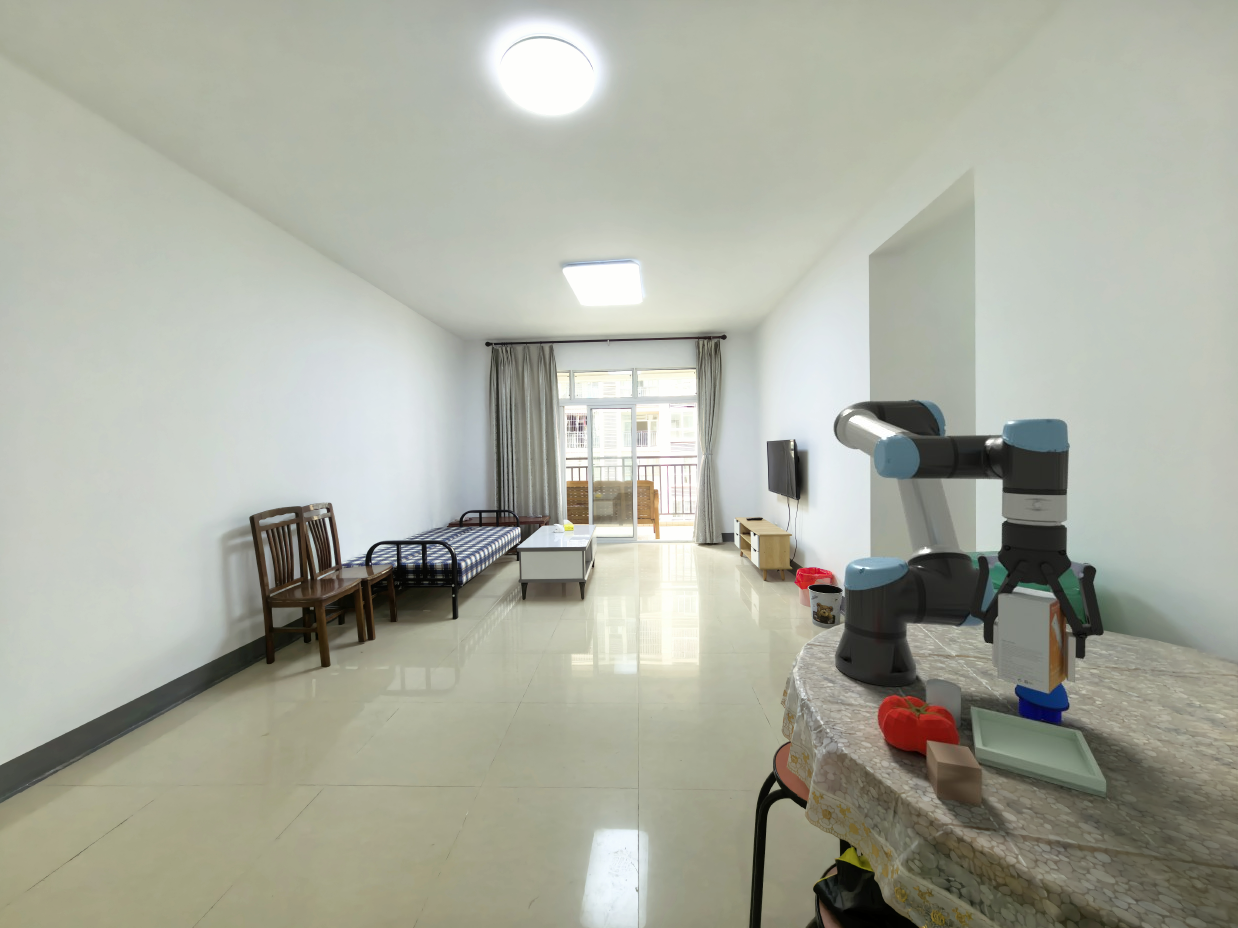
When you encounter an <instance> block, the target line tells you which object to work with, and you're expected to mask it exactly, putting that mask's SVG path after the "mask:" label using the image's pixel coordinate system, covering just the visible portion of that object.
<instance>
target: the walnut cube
mask: <svg viewBox="0 0 1238 928" xmlns="http://www.w3.org/2000/svg"><path fill="white" fill-rule="evenodd" d="M925 771H926V776H927V779H928V781H929V783H930V785H931V789H932V790H933V792H934V795H935V797H936V798H937V799H941V800H942V799H943V800H947V801H952V800H953V801H952V802H958V803H963V804H967V805H972V806H973V805H974V806H978V807H982V795H983V794H982V792H983V791H982V788H983V787H982V785H983V784H982V783H983V782H982V779H983V777H982V775H983V769H982V766H981V765H980V764H979V762H977V760H976V759H975V755H974V754H973V752H972V751H971V750H970V748H969V747H968V746H964V745H960V744H958V745H953V744H947V743H940V742H934V741H928V740H927V756H926V770H925Z"/></svg>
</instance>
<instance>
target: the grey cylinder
mask: <svg viewBox="0 0 1238 928" xmlns="http://www.w3.org/2000/svg"><path fill="white" fill-rule="evenodd" d="M925 681H926V682H925V684H926V685H925V703H931V704H929V706H941V707H943V708H945V709H946V710H947V711H949V712H950V713H951V714H952V716H953V718H954V720H955V722H956V729H957V728H960V727H961V725H962V722H961V721H962V719H961V717H962V688H961V687H960V686H959V685H958V684H957V683H955V682H952V681H949V680H947V679H946V680H945V679H941V678H929V679H926V680H925Z"/></svg>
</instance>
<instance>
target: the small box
mask: <svg viewBox="0 0 1238 928" xmlns="http://www.w3.org/2000/svg"><path fill="white" fill-rule="evenodd" d="M997 621H998V667H997V671H996V672H997V676H996V677H997V678H998V679H999V680H1002V681H1005V682H1008V683H1012V684H1015V685H1017V684H1018V685H1021V686H1024V687H1027V688H1031V689H1034V690H1038V691H1041V692H1045V693H1050V692H1051V691H1052V690H1053V689H1054V688H1055V687H1057V686H1058V685H1059V684H1060V683H1062V682H1064V681H1066V680H1067V678H1066V676H1065V675H1064V650H1065V631H1067V619H1066V617H1065V616H1064V613H1063V611H1062V609H1061V606H1060V604H1059V600H1057V599H1056V597H1055V596H1054V595H1053V593H1052V591H1050V592H1049V591H1045V590H1038V589H1033V588H1028V587H1022V586H1017V587H1016V588H1015V589H1014V590H1013V592H1012V593H1011V594H1007V593H1001V594H999V595H998V616H997Z"/></svg>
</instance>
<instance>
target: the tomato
mask: <svg viewBox="0 0 1238 928" xmlns="http://www.w3.org/2000/svg"><path fill="white" fill-rule="evenodd" d="M929 704H931V703H926V701H923V700H921V699H919V698H917V697H914V696H905V697H903V695H902V696H898V695H897V694H894V695H890V696H887V697H885V698H884V699H883V700H882V702H881V704H880V705H879V708H878V711H877V721H878V722H877V723H878V726H879V729H880V730H881V733H882V735H883V737H884V739H885V741H886V742H887V743H888V744H890V745H891V746H893V747H896V748H897V749H900V750H902V751H905V752H918V753H920V754H922V755H924V756H926V757H927V740H928V741H934V742H940V743H947V744H953V745H960V734H959V732H958V729H957V728H956V722H955V720H954V718H953V716H952V714H951V713H950V712H949V711H947V710H946V709H945V708H943V707H941V706H929Z"/></svg>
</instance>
